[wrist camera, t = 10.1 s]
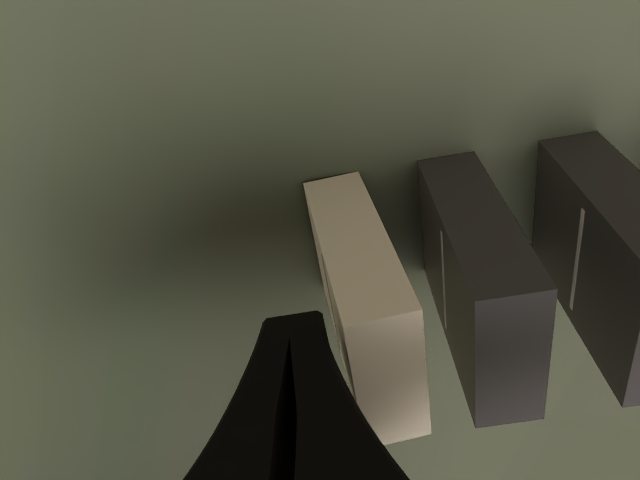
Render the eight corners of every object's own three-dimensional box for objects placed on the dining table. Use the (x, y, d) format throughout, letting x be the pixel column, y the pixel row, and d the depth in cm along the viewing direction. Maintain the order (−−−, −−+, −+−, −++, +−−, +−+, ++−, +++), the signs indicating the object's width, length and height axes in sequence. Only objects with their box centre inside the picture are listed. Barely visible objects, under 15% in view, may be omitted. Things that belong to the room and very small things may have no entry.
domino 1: (358, 171, 16) (422, 309, 11) (372, 279, 18) (432, 434, 13) (302, 183, 16) (342, 327, 11) (324, 290, 18) (365, 449, 13)
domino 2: (424, 271, 18) (474, 428, 13) (417, 161, 16) (473, 301, 11) (475, 263, 18) (544, 418, 13) (474, 151, 16) (558, 289, 11)
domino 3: (530, 254, 18) (621, 407, 13) (538, 140, 16) (651, 273, 11) (582, 246, 18) (693, 398, 13) (597, 130, 16) (738, 261, 11)
